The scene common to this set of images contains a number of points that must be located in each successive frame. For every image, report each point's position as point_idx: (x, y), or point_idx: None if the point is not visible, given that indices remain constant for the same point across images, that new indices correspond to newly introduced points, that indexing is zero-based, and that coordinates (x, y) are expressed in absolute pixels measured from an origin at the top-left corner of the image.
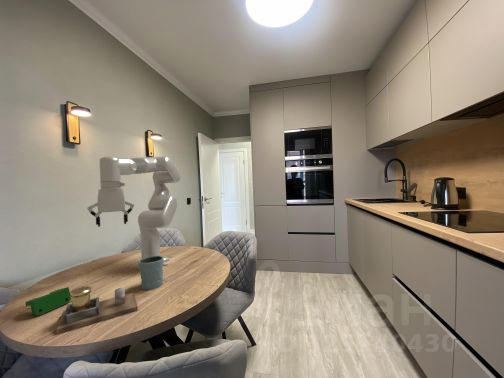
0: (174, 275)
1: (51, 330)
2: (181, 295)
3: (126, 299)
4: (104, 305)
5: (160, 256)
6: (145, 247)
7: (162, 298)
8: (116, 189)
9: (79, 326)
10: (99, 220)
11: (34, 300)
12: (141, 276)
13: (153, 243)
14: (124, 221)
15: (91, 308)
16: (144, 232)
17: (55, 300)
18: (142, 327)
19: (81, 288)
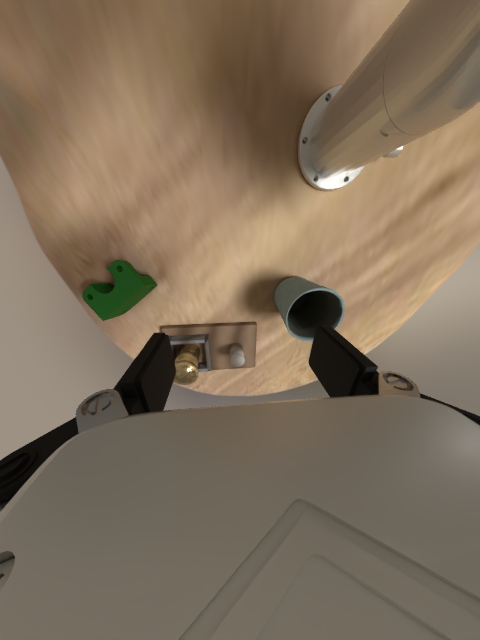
0: (344, 267)
1: None
2: None
3: (244, 341)
4: (216, 344)
5: (342, 306)
6: (363, 134)
7: (288, 349)
8: None
9: None
10: (161, 407)
11: (104, 319)
12: (279, 307)
13: (406, 141)
14: (316, 374)
15: (202, 369)
16: (447, 69)
17: (135, 299)
18: (252, 394)
19: (182, 369)
